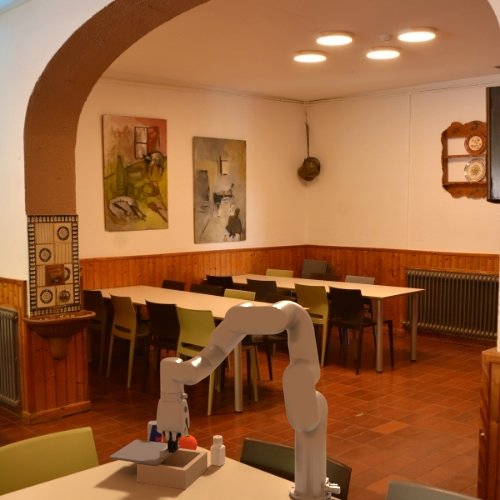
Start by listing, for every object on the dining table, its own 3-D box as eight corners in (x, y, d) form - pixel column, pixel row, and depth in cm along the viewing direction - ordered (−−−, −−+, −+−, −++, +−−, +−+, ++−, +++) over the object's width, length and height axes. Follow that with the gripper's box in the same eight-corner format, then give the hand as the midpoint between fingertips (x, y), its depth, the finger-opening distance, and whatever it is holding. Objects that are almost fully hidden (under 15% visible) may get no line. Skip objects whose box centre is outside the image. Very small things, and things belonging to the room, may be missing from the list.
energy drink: (160, 458, 229) (159, 425, 228) (145, 457, 230) (145, 424, 229) (165, 453, 234) (164, 420, 233) (150, 452, 235) (150, 419, 234)
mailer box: (207, 469, 219) (207, 451, 219) (185, 489, 203) (185, 470, 203) (162, 463, 225) (161, 445, 224) (137, 482, 209) (137, 463, 208)
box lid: (180, 447, 222) (179, 439, 222) (156, 465, 206) (156, 456, 206) (136, 441, 228) (135, 433, 228) (109, 458, 212) (109, 450, 212)
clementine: (174, 452, 235) (174, 432, 235) (192, 449, 238) (192, 429, 238) (181, 459, 228) (181, 439, 228) (200, 456, 231) (199, 436, 230)
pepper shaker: (209, 465, 223) (209, 437, 222) (215, 461, 226) (215, 434, 226) (220, 467, 221) (219, 439, 220) (225, 463, 224) (225, 435, 224)
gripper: (198, 395, 213) (198, 450, 214) (157, 391, 218) (157, 445, 219) (188, 401, 206) (188, 458, 207) (146, 397, 211) (146, 452, 212)
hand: (172, 451), depth 213 cm, fingers closed
